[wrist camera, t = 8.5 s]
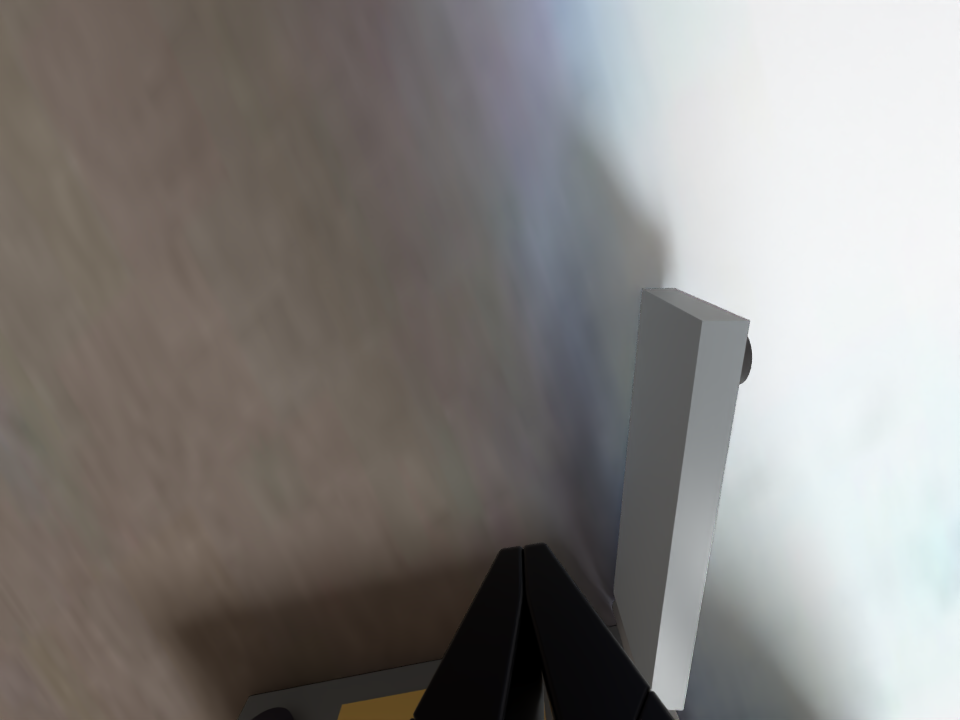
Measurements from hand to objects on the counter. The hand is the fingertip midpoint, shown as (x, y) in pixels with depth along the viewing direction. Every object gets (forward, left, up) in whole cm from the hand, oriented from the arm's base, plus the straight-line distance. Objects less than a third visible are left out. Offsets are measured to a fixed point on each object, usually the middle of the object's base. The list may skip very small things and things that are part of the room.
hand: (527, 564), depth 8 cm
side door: (-5, +6, -10) cm, 12 cm away
